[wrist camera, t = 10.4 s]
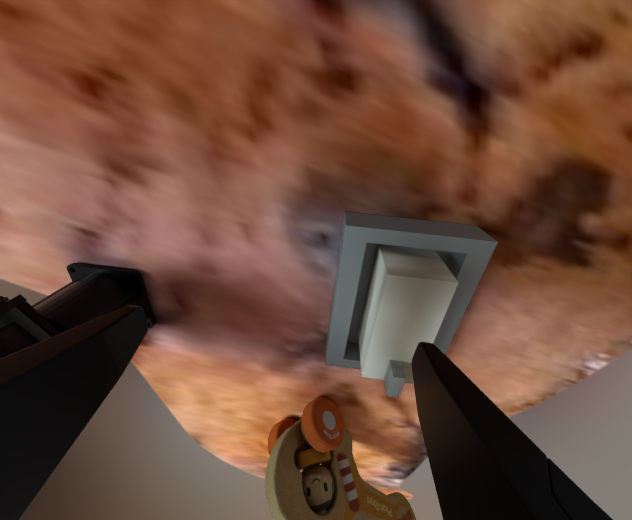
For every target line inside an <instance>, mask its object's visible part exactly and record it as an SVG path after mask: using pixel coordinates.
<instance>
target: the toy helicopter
mask: <svg viewBox="0 0 632 520" xmlns="http://www.w3.org/2000/svg"><path fill="white" fill-rule="evenodd" d="M268 451H269V454H270V457H269V461H268V465H267V470H266V477H265V494H266V499H267V504H268V507H269V510H270V513H271V515H272V517H273V519H274V520H416V518H415V515H414V512H413V510H412V508H411V506H410V504H409V502H408V501H407V499H406V498H405V497H404V496H403V495H402V494H400V493H398V492H395V493H391V494H389V495H385V494H384V493H382V492H380V491H379V490H377V489H376V488H374V487H372V486H371V485H369V484H368V483H366V482H365V481H363V479H362V478H361V477H360V475H359V473H358V470H357V466H356V463H355V461H354V458H353V454H352V438H351V436H350V434H349V433H348V431H346V430H345V426H344V421H343V418H342V416H341V413H340V411H339V410H338V408H337V406H336V405H335V404H334V403H333V402H332V401H331V400H329V399H327V398H324V397H320V398H317V399H315V400H313V401H312V402H310V403H309V404H308V405H307V406H306V407H305V409H304V411H303V415H302V419H301V420H299V421H295V420H293V419H284V420H282V421H280V422H278V423H277V424H276V425H275V426H274V427H273V428H272V429H271V431H270V434H269V438H268ZM321 463H322V464H321ZM320 464H321V465H320ZM303 469H304V470H303ZM299 470H303V471H302V473H301V472H300V471H299Z"/></svg>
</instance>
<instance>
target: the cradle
mask: <svg viewBox="0 0 632 520" xmlns="http://www.w3.org/2000/svg"><path fill="white" fill-rule="evenodd" d="M497 243H498V242H497V241H496V240H495V239H493V238H492V237H491V236H489V235H488V234H487V233H485V232H484V231H483V230H482V229H480V228H479V227H478V226H474V225H465V224H456V223H446V222H437V221H428V220H419V219H409V218H400V217H391V216H382V215H372V214H363V213H354V212H345V215H344V222H343V229H342V236H341V243H340V250H339V257H338V264H337V271H336V278H335V285H334V292H333V299H332V306H331V312H330V319H329V326H328V333H327V340H326V355H325V365H331V366H339V367H347V368H354V369H361V363H360V351H359V339H358V331H359V326H360V322H361V317H362V313H363V308H364V303H365V299H366V294H367V289H368V285H369V280H370V276H371V271H372V266H373V262H374V257H375V253H376V248H377V244H385V245H394V246H403V247H412V248H421V249H430V250H435V251H436V252H437V254H438V255H439V256H440V258H441V259H442V261H443V262H444V263H445V265H446V266H447V267H448V269H449V270H450V272H451V273H452V274H453V276H454V277H455V278H456V280H457V281H458V285H457V288H456V290H455V292H454V295H453V297H452V300H451V302H450V304H449V307H448V309H447V311H446V314H445V316H444V319H443V321H442V323H441V326H440V328H439V330H438V333H437V335H436V337H435V340H434V342H433V344H434V345H436V346H437V347H438V348H439V349H440V350H441V351H442V352H443V353H444V354H445V353H446V351H447V349H448V347H449V345H450V342H451V340H452V338H453V336H454V334H455V332H456V330H457V328H458V325H459V323H460V321H461V319H462V317H463V315H464V313H465V311H466V309H467V306H468V304H469V302H470V300H471V298H472V296H473V294H474V292H475V290H476V287H477V285H478V283H479V281H480V279H481V277H482V275H483V273H484V271H485V268H486V266H487V264H488V262H489V260H490V258H491V256H492V254H493V251H494V249H495V247H496V245H497Z"/></svg>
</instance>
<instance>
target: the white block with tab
mask: <svg viewBox="0 0 632 520" xmlns="http://www.w3.org/2000/svg"><path fill="white" fill-rule="evenodd" d="M457 285H458V281H457V280H456V278H455V277H454V276H453V274H452V273H451V272H450V270H449V269H448V267H447V266H446V265H445V263H444V262H443V261H442V259H441V258H440V256H439V255H438V254H437V252H436V251H435V250H430V249H421V248H412V247H403V246H394V245H385V244H377V248H376V253H375V257H374V262H373V266H372V271H371V276H370V280H369V285H368V289H367V294H366V299H365V303H364V308H363V313H362V317H361V322H360V326H359V331H358V339H359V351H360V363H361V376H362V377H365V378H373V379H381V380H384V382H385V388H386V395H387V396H390V397H399V395H400V392H401V390H402V387H403V384H404V383H412V384H414V381H413V374H412V365H411V363H412V358H413V355H414V353H415V350H416V348H417V345H418V343H419V342H428V343H433V342H434V340H435V337H436V335H437V333H438V330H439V328H440V326H441V323H442V321H443V319H444V316H445V314H446V311H447V309H448V307H449V304H450V302H451V300H452V297H453V295H454V292H455V290H456V288H457Z"/></svg>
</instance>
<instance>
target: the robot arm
mask: <svg viewBox="0 0 632 520" xmlns="http://www.w3.org/2000/svg"><path fill="white" fill-rule="evenodd" d="M67 270H68V272H69V275H70V277H71V279H72V282H71V283H69V284H67V285H66V286H64V287H62V288H61V289H59V290H57V291H56V292H54V293H52V294H51V295H49V296H47V297H46V298H44V299H42V300H41V301H39V302H37V303H36V304H34V305H32V306H31V305H30V304H29V303H27V302H26V300H27V299H25V298H24V297H23V296H22V295H21V294H19V295H18V296H15V297H13V298H11V299H8V298H7V297H6V298H5V297H2V296H0V520H19V519H20V517H21V516H22V514H23V513H24V511H25V510H26V509H27V507H28V506H29V504H30V503H31V502H32V500H33V499H34V497H35V496H36V495H37V493H38V492H39V491H40V489H41V488H42V486H43V485H44V484H45V482H46V481H47V479H48V478H49V477H50V475H51V474H52V472H53V471H54V470H55V468H56V467H57V465H58V464H59V463H60V461H61V460H62V458H63V457H64V456H65V454H66V453H67V451H68V450H69V448H70V447H71V446H72V444H73V443H74V442H75V440H76V438H77V437H78V436H79V435H80V433H81V432H82V430H83V429H84V428H85V426H86V425H87V423H88V422H89V421H90V419H91V418H92V416H93V415H94V414H95V412H96V411H97V410H98V408H99V407H100V405H101V404H102V402H103V401H104V400H105V398H106V397H107V396H108V394H109V393H110V391H111V390H112V389H113V387H114V386H115V384H116V383H117V381H118V380H119V379H120V377H121V376H122V374H123V372H124V371H125V369H126V367H127V366H128V364H129V362H130V361H131V359H132V357H133V356H134V354H135V352H136V350H137V349H138V347H139V345H140V344H141V342H142V340H143V338H144V337H145V335H146V333H147V331H148V328H152V327H153V326H154V325H155V320H154V316H153V313H152V310H151V306H150V303H149V299H148V296H147V293H146V289H145V286H144V282H143V279H142V276H141V274H140V273H139V272H138V271H136V270H129V269H121V268H112V267H104V266H95V265H87V264H79V263H72V264H70V265H68V266H67ZM411 365H412V374H413V381H414V388H415V396H416V403H417V410H418V416H419V421H420V425H421V430H422V434H423V438H424V442H425V446H426V450H427V454H428V458H429V462H430V467H431V470H432V475H433V479H434V483H435V487H436V491H437V495H438V499H439V503H440V507H441V512H442V516H443V520H613V519H612V518H610V516H609V515H607V514H606V513H605V512H604V511H603V510H602V509H601V508H600V507H599V506H598V505H597V504H595V503H594V502H593V501H592V500H591V499H590V498H589V497H588V496H587V495H586V494H585V493H584V492H583V491H582V490H581V489H580V488H579V487H578V486H577V485H576V484H575V483H574V482H573V481H572V480H571V479H570V478H568V476H567V475H565V473H564V472H563V471H562V470H561V469H560V468H558V466H556V464H555V463H554V462H552V461H551V460H550V459H549V458H547V457H546V455H545V454H544V453H543V452H542V451H541V450H540V449H539V448H538V447H537V446H536V445H535V444H534V443H533V442H532V441H531V440H530V439H529V438H528V437H527V436H526V435H525V434H524V433H523V432H522V431H521V430H520V429H519V428H518V427H517V426H516V425H515V424H514V423H513V422H512V421H511V420H510V419H509V418H508V417H507V416H506V415H505V414H504V413H503V412H502V411H501V410H500V409H499V408H498V407H497V406H496V405H495V404H494V403H493V402H492V401H491V400H490V399H489V398H488V397H487V396H486V395H485V394H484V393H483V392H482V391H481V390H480V389H479V388H478V387H477V386H476V385H475V384H474V383H473V382H472V381H471V380H470V379H469V378H468V377H467V376H466V375H465V374H464V373H463V372H462V371H461V370H460V369H459V368H458V367H457V366H456V365H455V364H454V363H453V362H452V361H451V360H450V359H449V358H448V357H447V356H446V355H445V354H444V353H443V352H442V351H441V350H440V349H439V348H438V347H437V346H436V345H434V344H433V343H428V342H419V343H418V345H417V348H416V350H415V353H414V355H413V358H412V363H411Z"/></svg>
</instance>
